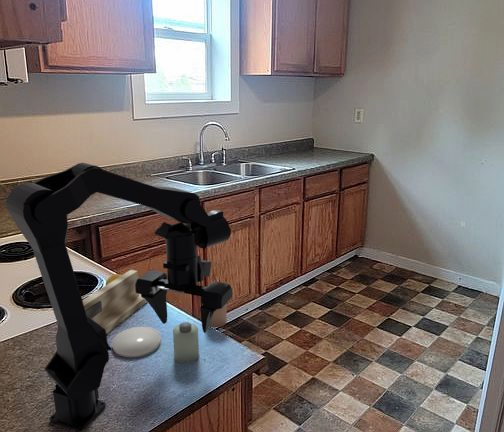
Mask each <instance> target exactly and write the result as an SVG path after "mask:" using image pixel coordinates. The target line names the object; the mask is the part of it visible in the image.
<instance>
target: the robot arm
mask: <svg viewBox="0 0 504 432" xmlns="http://www.w3.org/2000/svg"><path fill="white" fill-rule="evenodd" d="M96 193H99V194H101V195H106V196H110V197H113V198H115V199H119V200H123V201H127V202H130V203H134V204H137V205H141V206H144V207H146V208H148V209H150V210H151V211H153V212H155V213H157V214H158V215H160V216H162V217H165V218H167V219H170V220H174V221H175V222H176V223H173V224H170V223H167V222H164V221H163V222H162V223H161V225H160V226H159V227H158V228H156V230H155V231H154V235H155V236H157V237H160V238H162V239H165V249H166V250H165V254H166V260H165V261H164V262H163V263H162V267H163V269H166V270H167V273H166V272H164V271H157V270H153V269H152V270H149V271H147V272H146V273H144V274H143V275H141V276H140V277H139V276H138V277H139V278H138V279H137V280H136V282H135V292H136V293H138V294H141V297H142V298H145V299H146V301H147V302H146V303H148V305H149V306H150V307H151V308H152V309H153V311H154V312H155V314H156V316H157V317H158V319H159V320H160V321H161V323H162V324H164V325H165V324H166V323H167V322H168V307H167V306H168V305H167V294H168V291H169V292H175V293H180V294H187V295H192V296H196V297H197V296H198V297H200V302H201V304H202V305H201V306H200V307H199V311H200V320H201V327H202V328H201V329H202V332H203V333H207V332H208V330H209V328H210V327H209V325H210V322H211V319H212V317H213V314H214V312H215V311H216V310H217V309H221V308H223V306H224V305H225V304H226V305H227V303H228V302H229V301H230V300H231V299H232V298H233V287H232V286H231V285H230V283H225V282H221V281H214V280H213V281H211V282H210V284H209V285H207V286H204V285H199V282H200V283H202V282H203V281H204V280H205V279H204V278H205V277H207V278H210V277H211V269H212V261H211V260H205V259H201V258H202V257H201V255H198V248H200V249H203V250H204V249H207V248H210V247H212V246H215V245H218V244H221V243H224V242H227V241H229V239H230V238H231V234H232V230H231V227H230V225H229V224H230V223H229V222H228V220H227V218H226V217H225V216H224V211H223V210H220V209H213V210H210V211H208V212H207V211H206V210H205V209H204V208H203V206H202V205H201V204H202V203H201V201H200V200H201V199H200V196H199V195H197V194H196V193H194V192H191V191H187V190H183V189H179V188H176V187H172V186H171V187H169V186H162V185H151V184H147V183H144V182H141V181H138V180H135V179H132V178H129V177H126V176H123V175H120V174H116V173H115V172H114V173H113V172H111V171H108V170H105V169H103V168H101V167H100V166H98V165H95V164H91V163H87V162H79V163H77V164H75V165H73V166H71V167H69V168H67V169H65V170H63V171H62V170H61V171H58V172H56V173H53V174H50V175H48V176H44V177H43V178H40V179H38V180H36V181H35V182H34V181H33V183H32V182H24V183H21V184H18V185H16V186H15V187H14V188H13V189H11V190H10V192H9V194H8V196H6V199H5V204H6V206H5V207H6V209H7V211H8V213H9V215H10V216H11V218H12V220H13V222H14V224H15V225H16V227H17V229H18V230H19V231H20V233H21V234H22V236H23V237H24V238H25V240H26V241H27V242H28V244H29V245H30V247H31V248H32V252H33V255H34V257H35V260H36V263H37V266H38V269H39V272H40V275H41V279H42V281H43V284H44V287H45V290H46V292H47V293H46V294H47V296H48V299H49V302H50V305H51V308H52V311H53V314H54V317H55V319H56V322H57V330H56V335H55V344H56V351H55V353H54V354H53V356H52V357H51V358H50V361H49V362H48V363H47V364H46V366H45V368H44V371H45V372H46V374H47V375H48V377H49V378H50V379H52V381H54V383H56V384H55V389H53V390H52V397H53V403H54V411H55V412H54V413H53V414H52V415H51V416H49V421H50V422H51V423H54V424H57V425H60V426H63V427H65V428H69V429H72V430H74V431H78V432H79V431H83V429H85V427H86V426H87V425H89V423H91V421H93V420H94V418H96V416H97V415H98V414H99V413H101V411H102V410H103V409H104V408H106V402H105V401H102V400H99V399H100V397H99V395H100V394H99V388H100V387H101V383H102V379H103V375H104V370H105V367H106V365H107V363H109V361H110V354H109V351H112V350H113V347H111V346H110V345H109V343H108V336H107V334H108V333H107V334H106V331H105V329H104V328H103V327H102V326H100V325H99V324H98V323H96V322H95V321H94V320H92V319H91V318H90V317H87V314H86V311H85V308H84V304H83V301H82V300H83V299H82V294H81V291H80V288H79V284H78V281H77V277H76V274H75V272H74V267H73V265H72V262H71V258H70V255H69V252H68V248H67V243H66V239H67V234H68V229H69V221H68V220H69V219H68V215H70V214H71V213H73V212H75V211H76V210H78V209H79V208H81V206H82V205H83V204H84V203H85V202H86V201H87V200H88V199H89V198H90V197H91V196H92V195H94V194H96ZM197 247H198V248H197Z"/></svg>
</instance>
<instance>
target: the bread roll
mask: <svg viewBox="0 0 504 432" xmlns="http://www.w3.org/2000/svg"><path fill="white" fill-rule="evenodd" d="M122 275H123V274H121V273H115V274H113V275H111V276H109V277H108V278H107V280H106V282H105V285H104V286H106V285H107V284H109V283H111V282H112V281H114V280H115V279H117V278H119V277H120V276H122ZM138 278H139V276H138Z"/></svg>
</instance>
